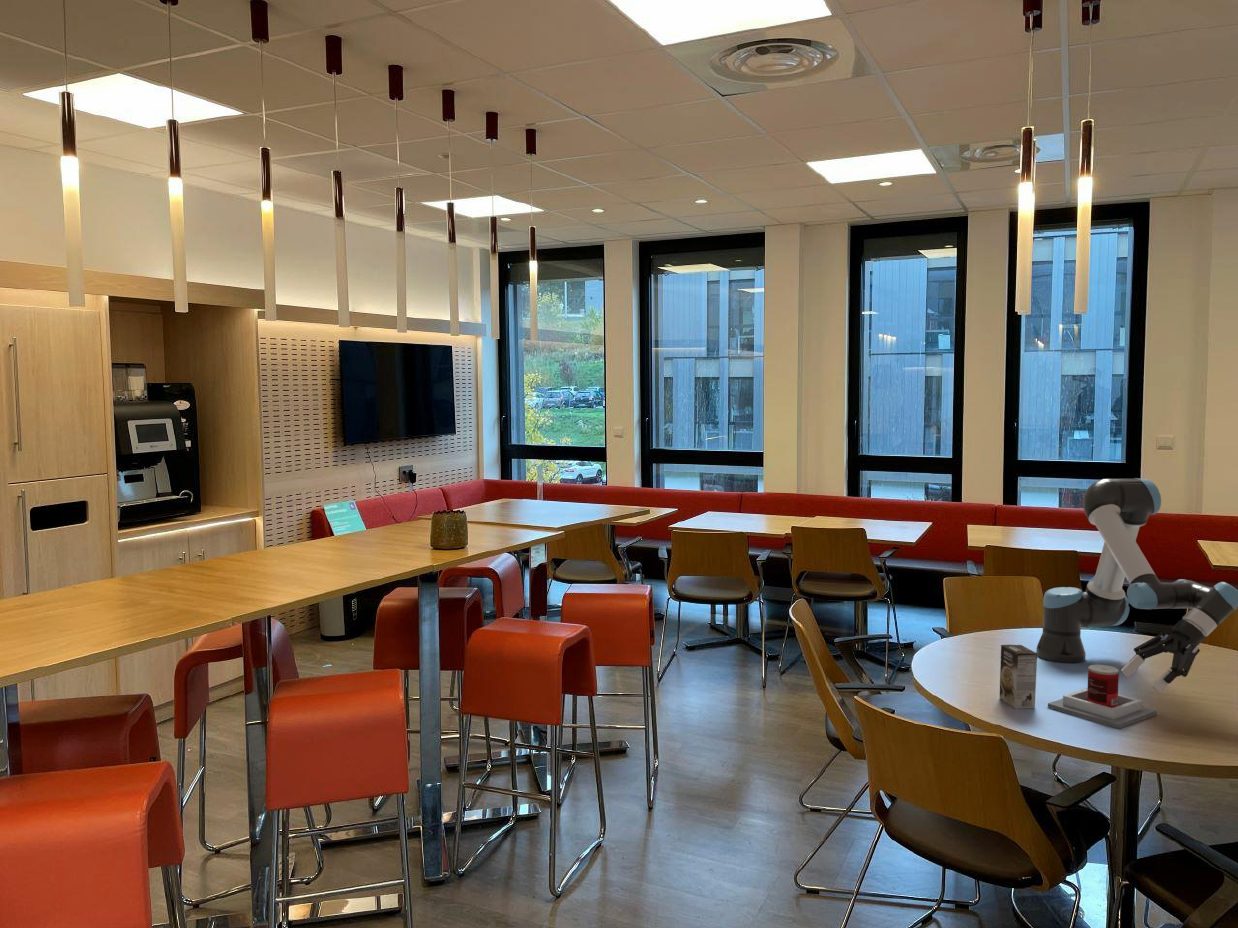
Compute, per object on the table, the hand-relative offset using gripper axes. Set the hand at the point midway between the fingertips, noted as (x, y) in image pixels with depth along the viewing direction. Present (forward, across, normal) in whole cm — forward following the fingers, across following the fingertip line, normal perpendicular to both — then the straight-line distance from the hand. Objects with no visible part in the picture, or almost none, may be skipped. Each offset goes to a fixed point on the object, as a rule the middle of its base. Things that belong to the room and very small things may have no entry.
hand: (1139, 681), depth 255 cm
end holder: (+14, 0, +2) cm, 14 cm away
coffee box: (+28, +8, +16) cm, 33 cm away
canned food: (+13, 0, +2) cm, 13 cm away
